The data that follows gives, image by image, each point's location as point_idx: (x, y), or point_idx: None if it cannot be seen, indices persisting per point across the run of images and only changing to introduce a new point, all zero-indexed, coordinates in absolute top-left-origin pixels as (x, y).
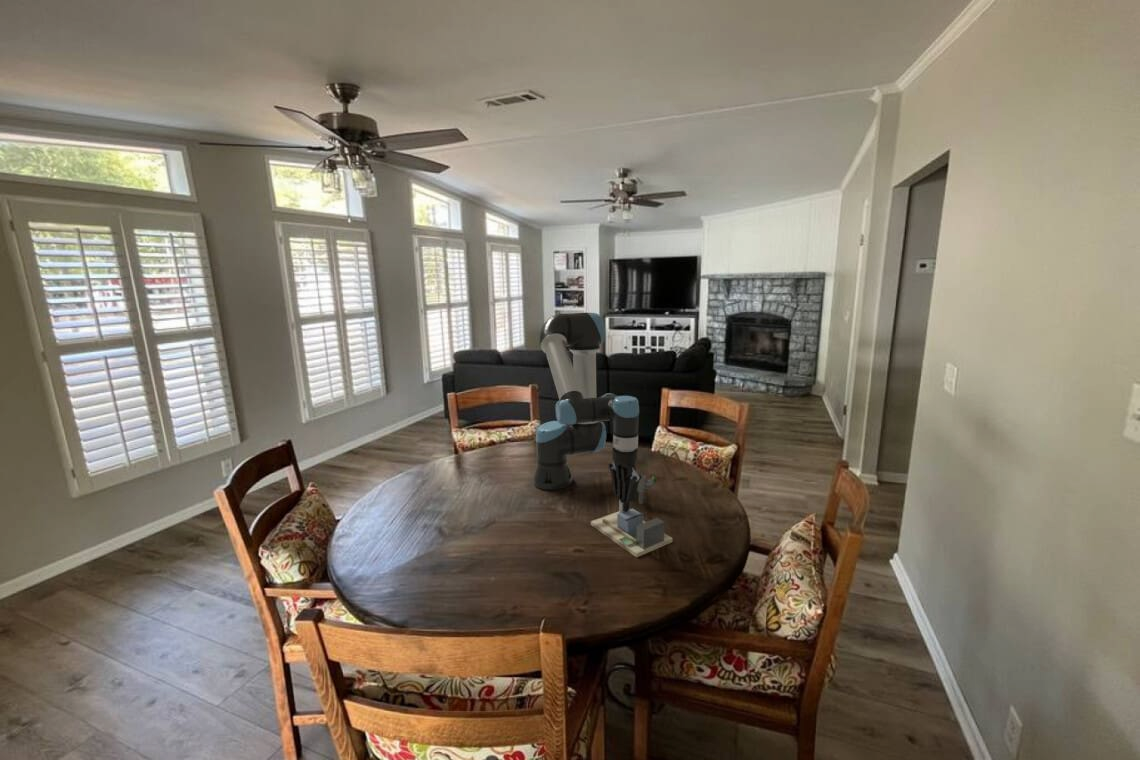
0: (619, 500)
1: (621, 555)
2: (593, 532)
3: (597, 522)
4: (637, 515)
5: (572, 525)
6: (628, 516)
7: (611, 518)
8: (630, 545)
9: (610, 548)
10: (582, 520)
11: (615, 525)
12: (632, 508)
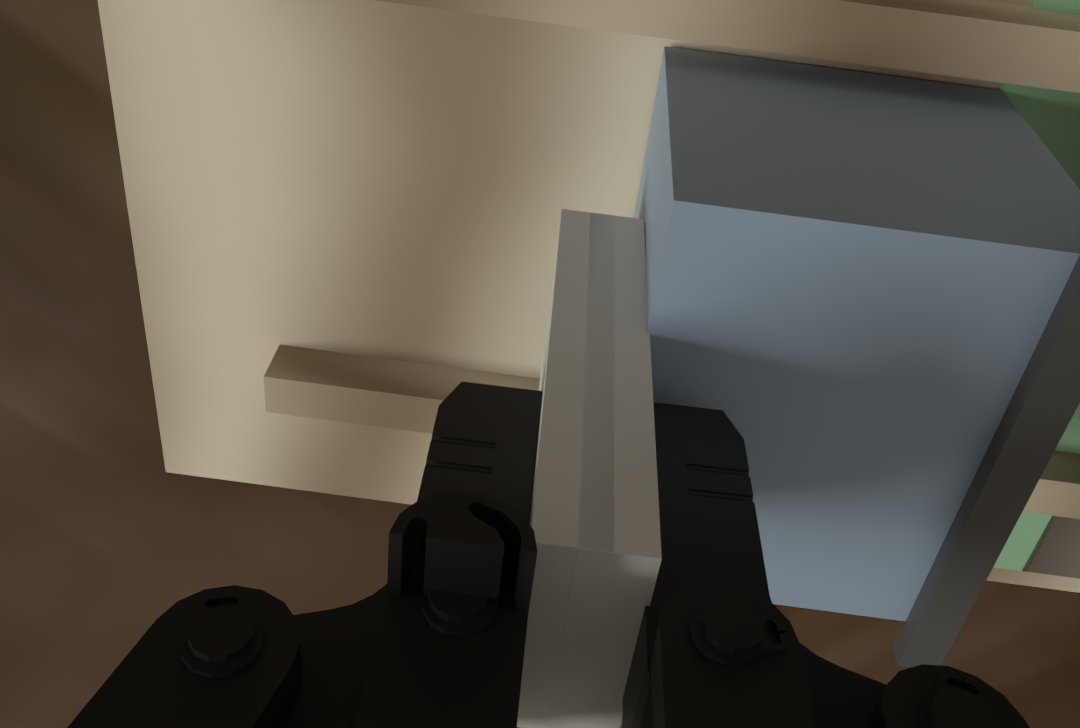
0: (517, 723)
1: (1008, 633)
2: (380, 525)
3: (248, 431)
4: (1045, 422)
5: (81, 573)
6: (857, 525)
7: (263, 199)
8: (1063, 550)
9: (806, 617)
10: (14, 429)
11: (505, 319)
12: (679, 200)
